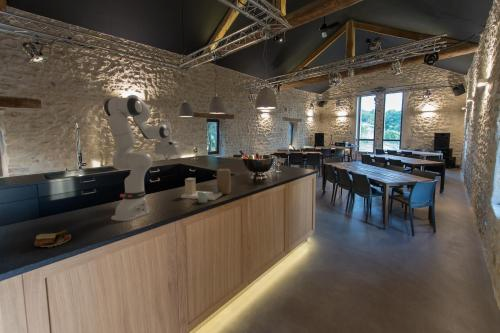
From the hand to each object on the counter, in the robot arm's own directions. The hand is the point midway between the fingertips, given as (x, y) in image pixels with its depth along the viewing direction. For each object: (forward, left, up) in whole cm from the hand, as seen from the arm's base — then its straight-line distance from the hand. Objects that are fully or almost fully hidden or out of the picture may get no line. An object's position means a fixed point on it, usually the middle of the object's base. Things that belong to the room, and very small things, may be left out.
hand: (167, 160), depth 196 cm
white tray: (+5, -27, -29) cm, 40 cm away
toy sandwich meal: (-88, +4, -30) cm, 93 cm away
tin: (+10, -37, -27) cm, 47 cm away
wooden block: (+20, -40, -30) cm, 53 cm away
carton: (+5, -16, -27) cm, 32 cm away
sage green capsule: (-8, -33, -29) cm, 45 cm away
